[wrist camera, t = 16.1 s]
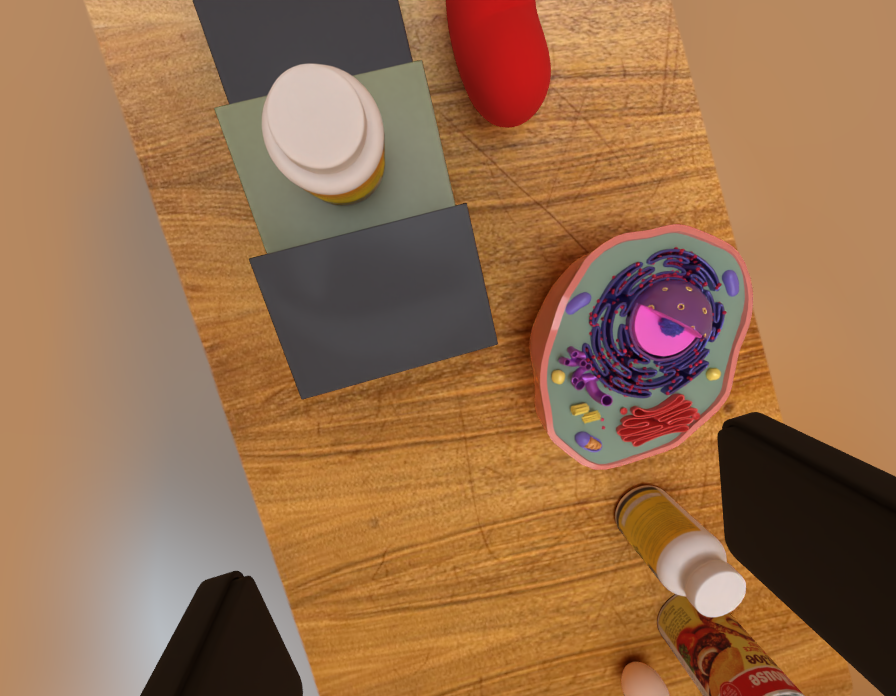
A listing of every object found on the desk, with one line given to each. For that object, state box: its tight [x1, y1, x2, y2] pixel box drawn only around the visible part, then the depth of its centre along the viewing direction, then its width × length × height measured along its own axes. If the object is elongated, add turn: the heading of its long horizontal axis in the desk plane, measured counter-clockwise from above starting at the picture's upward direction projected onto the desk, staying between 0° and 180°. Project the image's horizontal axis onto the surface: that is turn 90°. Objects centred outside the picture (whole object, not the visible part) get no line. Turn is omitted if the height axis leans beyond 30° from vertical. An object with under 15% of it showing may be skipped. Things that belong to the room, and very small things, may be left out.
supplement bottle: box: [262, 64, 385, 206], centre depth 22 cm, size 6×6×10 cm
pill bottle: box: [615, 486, 746, 617], centre depth 41 cm, size 6×6×12 cm
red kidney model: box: [446, 0, 551, 128], centre depth 28 cm, size 12×5×10 cm, turn 16°
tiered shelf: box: [193, 0, 498, 399], centre depth 29 cm, size 13×27×11 cm, turn 14°
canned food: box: [657, 594, 804, 696], centre depth 46 cm, size 8×8×12 cm
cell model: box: [529, 224, 753, 469], centre depth 35 cm, size 17×20×11 cm
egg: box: [621, 662, 670, 696], centre depth 49 cm, size 5×5×7 cm
